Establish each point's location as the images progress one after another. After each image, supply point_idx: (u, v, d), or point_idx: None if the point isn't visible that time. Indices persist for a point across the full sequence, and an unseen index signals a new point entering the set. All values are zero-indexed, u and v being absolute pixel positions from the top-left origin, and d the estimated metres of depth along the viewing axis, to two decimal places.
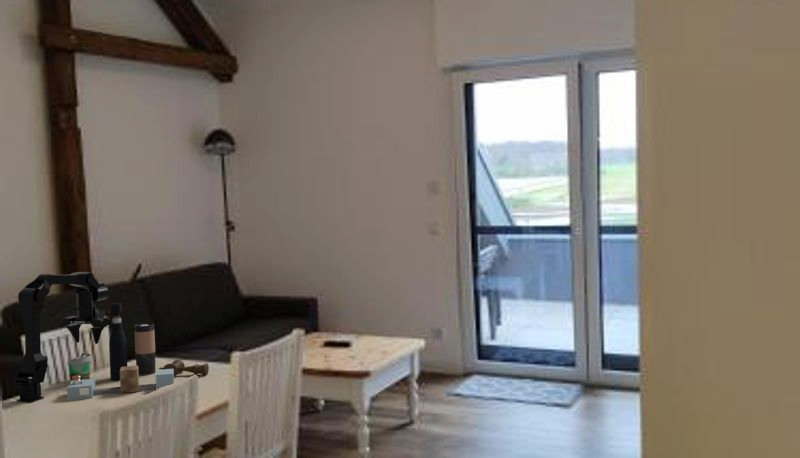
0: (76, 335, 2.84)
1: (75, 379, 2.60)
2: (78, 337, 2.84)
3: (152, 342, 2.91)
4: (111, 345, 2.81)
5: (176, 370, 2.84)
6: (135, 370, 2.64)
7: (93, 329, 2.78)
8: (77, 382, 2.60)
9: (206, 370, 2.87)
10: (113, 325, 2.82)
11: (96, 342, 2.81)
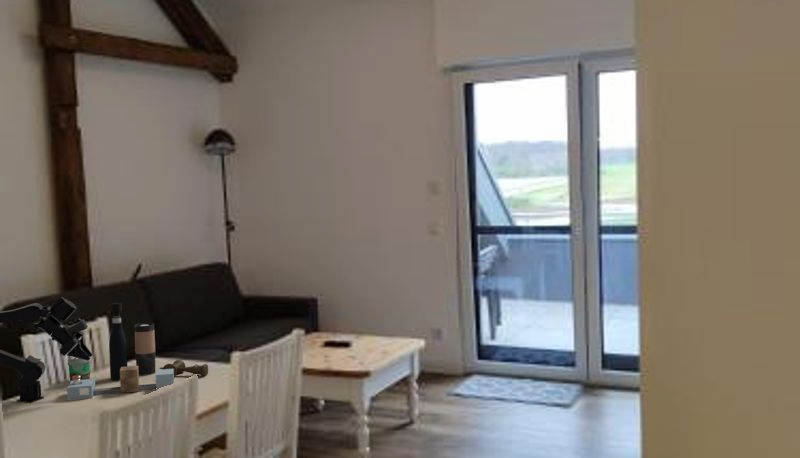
0: (84, 351, 2.64)
1: (75, 379, 2.60)
2: (87, 352, 2.65)
3: (152, 342, 2.91)
4: (111, 345, 2.81)
5: (175, 370, 2.83)
6: (135, 370, 2.64)
7: None
8: (77, 382, 2.60)
9: (205, 371, 2.85)
10: (113, 325, 2.82)
11: (87, 359, 2.59)
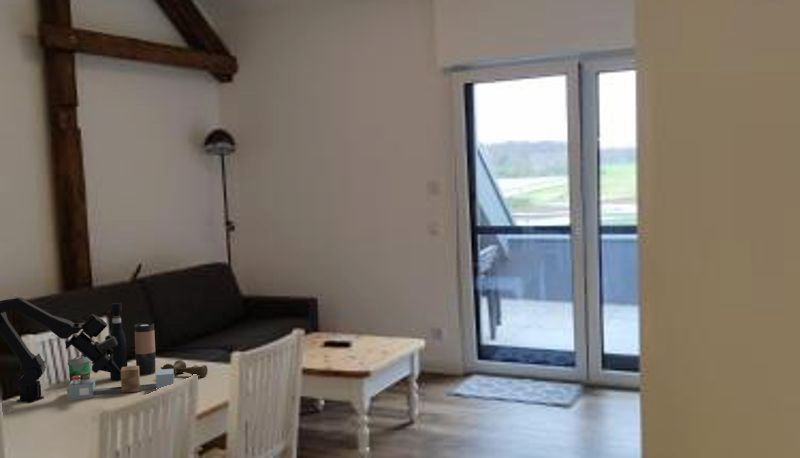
0: None
1: (75, 379, 2.60)
2: None
3: (152, 342, 2.91)
4: None
5: (174, 371, 2.83)
6: (136, 370, 2.64)
7: None
8: (77, 382, 2.60)
9: (203, 372, 2.84)
10: (113, 325, 2.82)
11: (118, 373, 2.65)
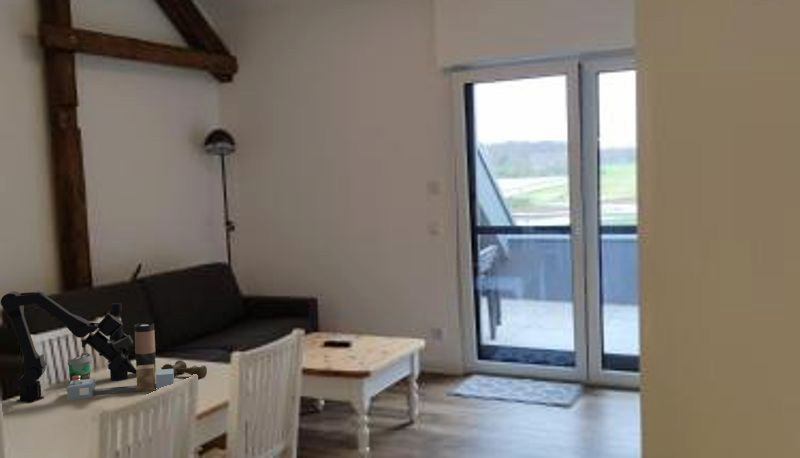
0: None
1: (75, 379, 2.60)
2: None
3: (152, 342, 2.91)
4: None
5: None
6: (151, 369, 2.66)
7: None
8: (77, 382, 2.60)
9: (202, 373, 2.83)
10: None
11: (134, 372, 2.66)
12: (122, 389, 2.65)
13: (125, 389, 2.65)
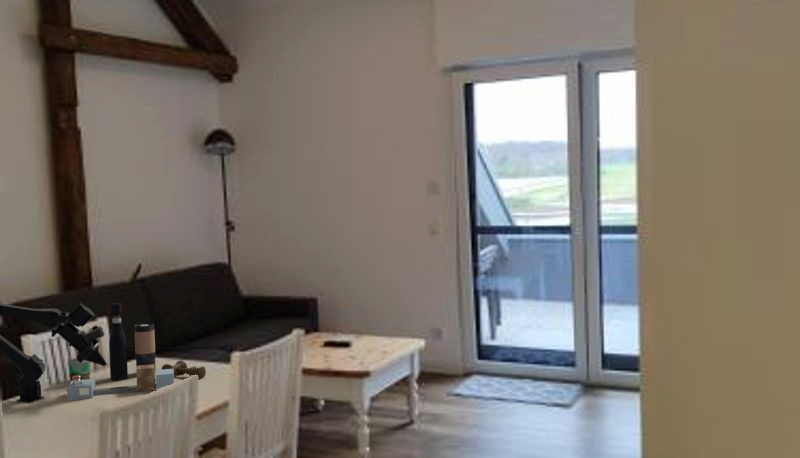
0: None
1: (75, 379, 2.60)
2: None
3: (152, 342, 2.91)
4: (111, 345, 2.81)
5: None
6: (151, 369, 2.66)
7: None
8: (77, 382, 2.60)
9: (200, 373, 2.81)
10: (113, 325, 2.82)
11: (103, 364, 2.63)
12: (122, 389, 2.65)
13: (125, 389, 2.65)
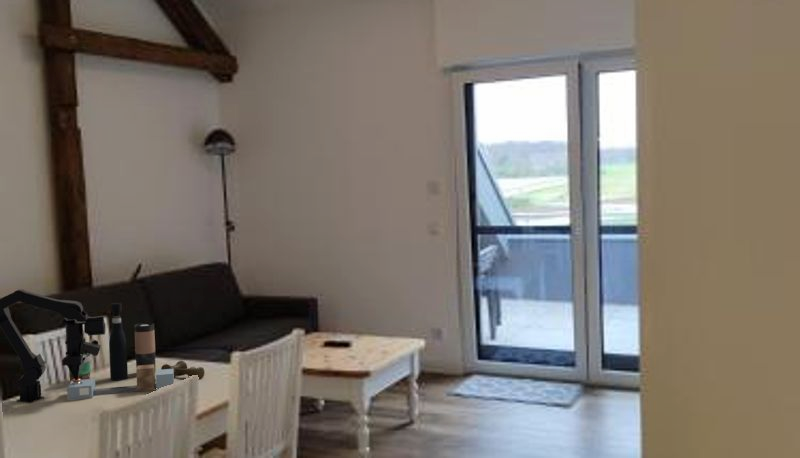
0: None
1: (75, 382, 2.60)
2: None
3: (152, 342, 2.91)
4: (111, 345, 2.81)
5: None
6: (151, 369, 2.66)
7: None
8: None
9: (198, 374, 2.80)
10: (113, 325, 2.82)
11: (75, 377, 2.61)
12: (122, 389, 2.65)
13: (125, 389, 2.65)
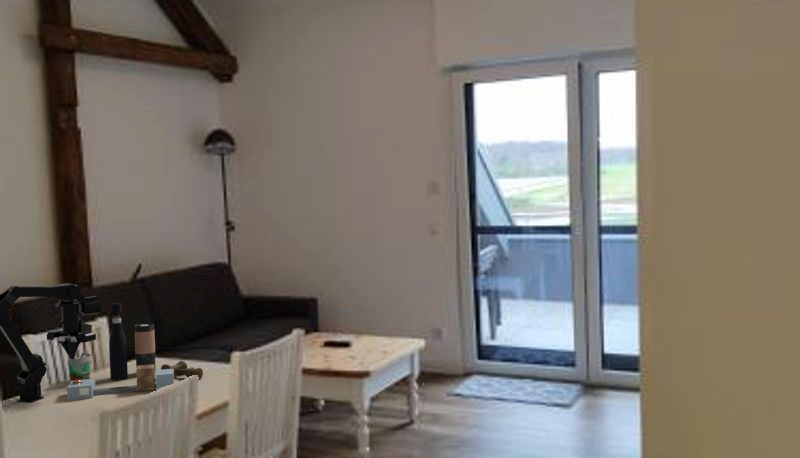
0: None
1: (75, 383, 2.60)
2: None
3: (152, 342, 2.91)
4: (111, 345, 2.81)
5: None
6: (151, 369, 2.66)
7: (69, 344, 2.64)
8: None
9: None
10: (113, 325, 2.82)
11: (72, 357, 2.67)
12: (122, 389, 2.65)
13: (125, 389, 2.65)
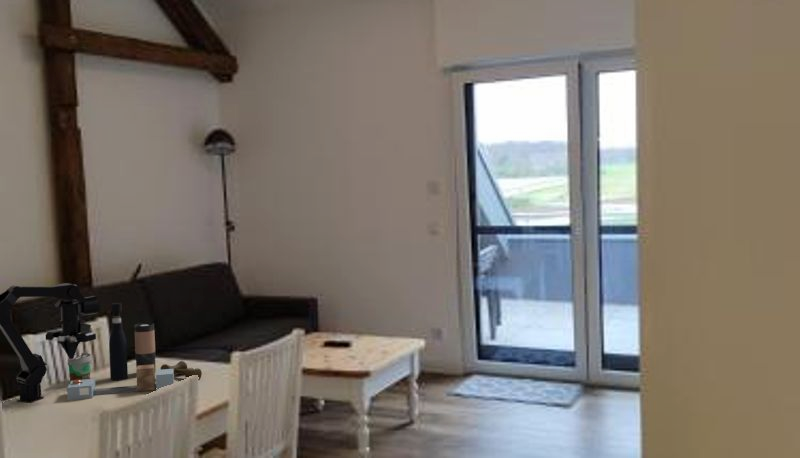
0: None
1: (75, 383, 2.60)
2: None
3: (152, 342, 2.91)
4: (111, 345, 2.81)
5: None
6: (151, 369, 2.66)
7: (68, 343, 2.64)
8: None
9: None
10: (113, 325, 2.82)
11: (72, 357, 2.67)
12: (122, 389, 2.65)
13: (125, 389, 2.65)
